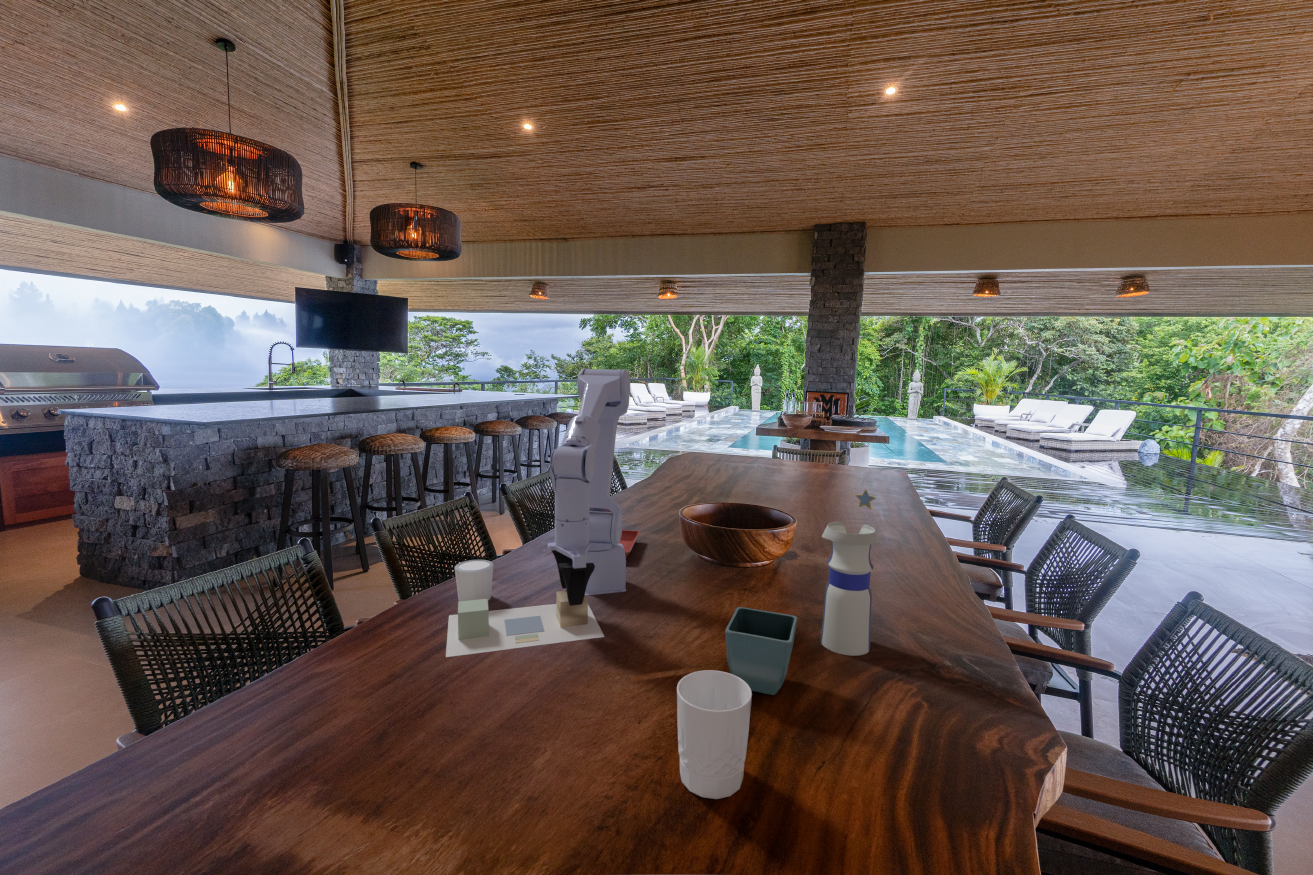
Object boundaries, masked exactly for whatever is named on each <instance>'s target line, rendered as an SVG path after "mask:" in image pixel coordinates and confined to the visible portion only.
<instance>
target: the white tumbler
mask: <svg viewBox="0 0 1313 875" xmlns="http://www.w3.org/2000/svg"><path fill="white" fill-rule="evenodd" d="M494 566H495V565H494V563H493V561H490V560H487V559H486V560H485V559H471V560H465V561H461V562H459V563H457V564H456V565H455V566H454V574H455V581H456V583H455V584H456V590H457V598H458V602H459V601H469V600H479V599H488V601H489V600H491V598H492V587H493V579H494V578H493V576H494Z"/></svg>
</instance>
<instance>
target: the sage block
mask: <svg viewBox="0 0 1313 875" xmlns="http://www.w3.org/2000/svg"><path fill="white" fill-rule="evenodd" d="M489 611H490V610H489V600H488V599H479V600H469V601H459V600H458V601H457V614H458V640H461V639H469V638H477V637H485V636H489Z"/></svg>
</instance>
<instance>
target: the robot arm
mask: <svg viewBox="0 0 1313 875" xmlns="http://www.w3.org/2000/svg"><path fill="white" fill-rule="evenodd" d="M576 380H577V381H576V382H577V383H576V386H577V388H576V390H577V393H578V396H579V400H580V406H579V411H578V415H575V416H573V417H572V418H571V419H570V420H569V423H568V425H567V428H566V431H565V433H564V436H563V438H562V441H561V444H560V445H559V446H557V448H554V449H553V450H552V451H551V454H550V458H549V464H548V465H549V476H550V479H551V488H552V491H554V542H548V543H547V549H548V551H551V553H552V554H553V556H554V559H555V561H556V565H557V570H558V577H559V581H560V585H561V587H562V589H563V590H564V589H566V590H565V591H567V597H568V602H569V605H570V606H573V605H582V603H583V600H584V596H585V594H586V596H594V595H603V594H613V593H614V594H615V593H622V592H623V593H624V592H626V591H627V589H626V586H627V585H626V577H627V576H626V573H627V572H626V568H627V567H626V566H627V560H626V559H627V557H626V556H625V550H624V547H623V545H622V544H618V543H619V542H620V539H621V535H622V530H623V511H622V510H623V509H622V507H621V505H620V504H619V503H618V502H617V501H615V500H614V499H613V498H612V497H611V496H610V495H611V488H612V487H611V486H612V477H613V467H614V459H615V458H614V457H615V456H614V455H615V449H616V447H615V446H616V437H617V430H618V424H619V419H620V417H621V416H624V415H625V414H627V413H628V408H629V405H630V397H631V396H630V394H631V375H630V372H629V371H628V370H627V369H626V368H623V369H606V368H605V369H604V368H603V369H602V368H601V369H600V368H599V369H598V368H595V369H594V368H592V369H591V368H586V367H585V368H584V367H583V368H581V370H580V371H578V375H577V379H576Z"/></svg>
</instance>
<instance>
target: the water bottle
mask: <svg viewBox="0 0 1313 875" xmlns="http://www.w3.org/2000/svg"><path fill="white" fill-rule="evenodd" d="M854 495H855V497H856V498H857V499H858V501H859V503H858V504H859V505H858V508H862V507H866V508H867V509H869V510H872V505H871V502H872V501H874V500H875V499H876V496H873V495H870V494H869V493H868V490H867V489H864V491H863V493H861V494H854ZM845 526H846V525H845V524H844V523H843V522H841V521H832V522H829V523H828V524H826V527H825V529H824V531H823V533H822V534H821V538H823V539H826V540H829V541H830V542H831V553H830V556H829V558H828V559H827V561H826V563H827V565H828V566H829V568H828V581H827V583H826V586H825V589H824V590H825V591H824V601H823V611H822V612H823V613H822V614H823V615H822V624H821V625H822V626H821V632H820V644H821V645H822V646H823V647H824V648H825V649H827V650H829V651H831V652H833V653H836V654H838V655H839V654H840V655H844V656H851V657H852V656H854V657H855V656H856V657H857V656H858V657H859V656H863V655H866V654H868V653H869V652H870V651H871V627H872V626H871V624H872V622H871V621H872V620H871V619H872V602H873V601H872V600H873V597H872V590H871V587H870V584H871V571H873V570H874V565H873V563H872V561H871V548H872V545H879V544H880V543H879V540H878V536H877V531H876V529H875V528H874V527H873V526H871V525H868V524H863V525H862V526H861V528H860V530H859V533H849V532H847V531H846V530H847V529H846V527H845Z"/></svg>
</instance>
